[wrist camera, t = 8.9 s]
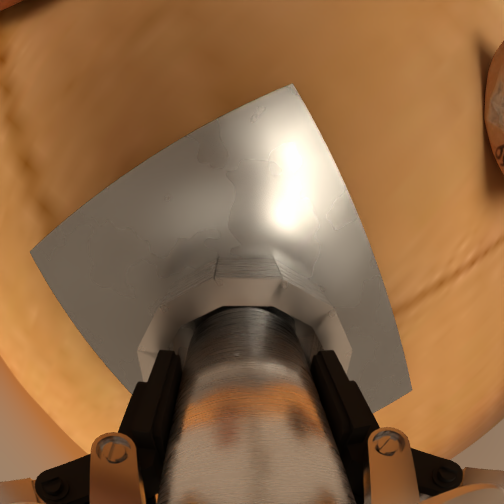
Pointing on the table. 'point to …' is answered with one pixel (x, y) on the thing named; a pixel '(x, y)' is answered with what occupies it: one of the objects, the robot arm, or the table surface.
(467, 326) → the table surface
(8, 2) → the ceramic jug
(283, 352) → the grey rounded piece
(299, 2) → the table surface
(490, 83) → the clay pipe
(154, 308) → the flange
